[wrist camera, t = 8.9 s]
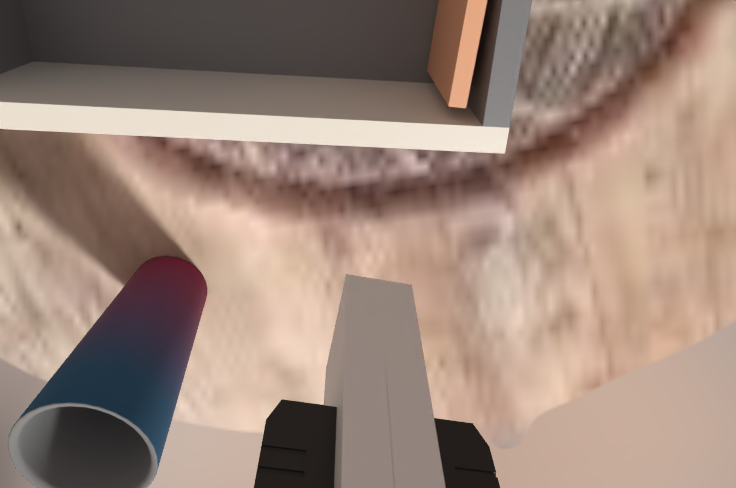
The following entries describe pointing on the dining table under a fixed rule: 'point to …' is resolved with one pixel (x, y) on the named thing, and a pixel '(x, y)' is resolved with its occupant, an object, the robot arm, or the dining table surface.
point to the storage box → (254, 71)
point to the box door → (455, 48)
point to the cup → (115, 387)
